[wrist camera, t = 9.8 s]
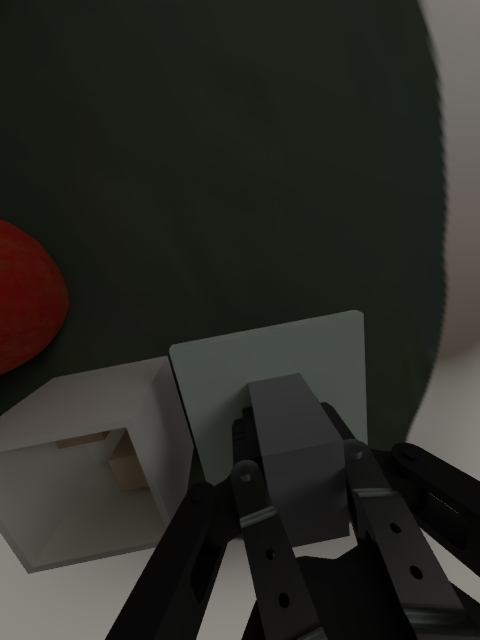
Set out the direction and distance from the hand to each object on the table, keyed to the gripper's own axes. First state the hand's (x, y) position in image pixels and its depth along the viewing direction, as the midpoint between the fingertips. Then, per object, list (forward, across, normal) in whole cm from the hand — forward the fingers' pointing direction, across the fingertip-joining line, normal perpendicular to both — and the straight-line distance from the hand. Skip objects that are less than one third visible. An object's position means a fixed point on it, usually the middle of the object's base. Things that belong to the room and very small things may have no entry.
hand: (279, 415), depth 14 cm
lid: (+2, 0, 0) cm, 2 cm away
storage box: (+8, +13, +3) cm, 15 cm away
